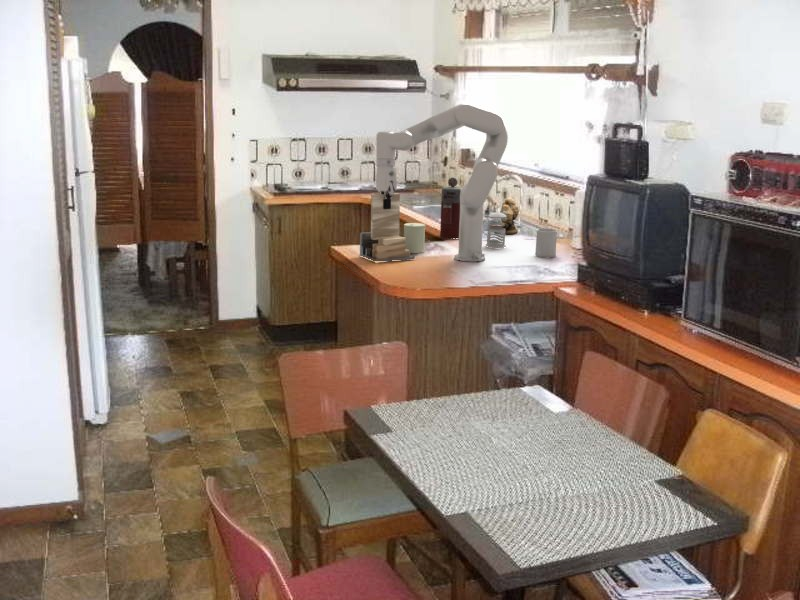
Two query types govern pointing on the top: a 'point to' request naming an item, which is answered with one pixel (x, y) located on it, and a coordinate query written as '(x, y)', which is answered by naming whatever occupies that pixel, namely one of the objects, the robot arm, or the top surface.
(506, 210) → the tan bust sculpture
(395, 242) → the offcut top
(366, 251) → the steel rack
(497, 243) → the french press
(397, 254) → the offcut bottom
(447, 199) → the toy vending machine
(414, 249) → the can
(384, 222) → the birch panel
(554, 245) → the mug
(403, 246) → the offcut middle
